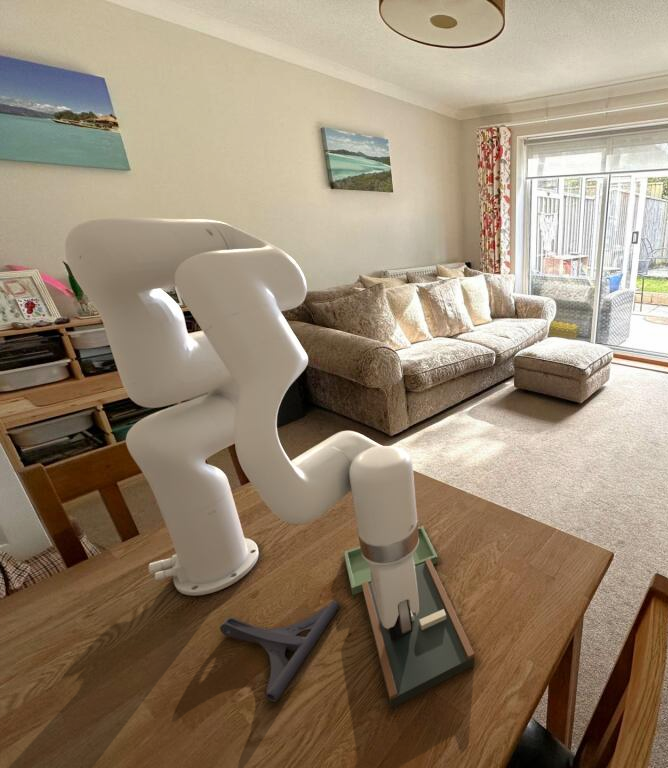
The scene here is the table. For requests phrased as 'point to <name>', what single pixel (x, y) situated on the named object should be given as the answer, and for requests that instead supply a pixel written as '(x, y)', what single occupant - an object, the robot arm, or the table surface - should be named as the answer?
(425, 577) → the chalkboard
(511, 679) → the table surface
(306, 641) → the bracket
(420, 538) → the tray
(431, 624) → the chalk
